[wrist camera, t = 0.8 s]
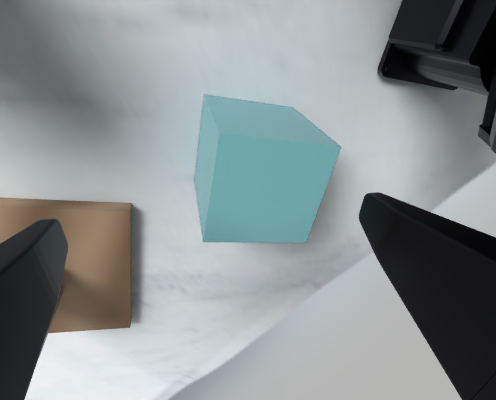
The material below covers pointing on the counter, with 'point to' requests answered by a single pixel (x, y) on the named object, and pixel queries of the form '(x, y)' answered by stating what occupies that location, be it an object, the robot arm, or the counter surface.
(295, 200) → the teal cube
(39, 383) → the counter surface
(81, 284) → the base board
